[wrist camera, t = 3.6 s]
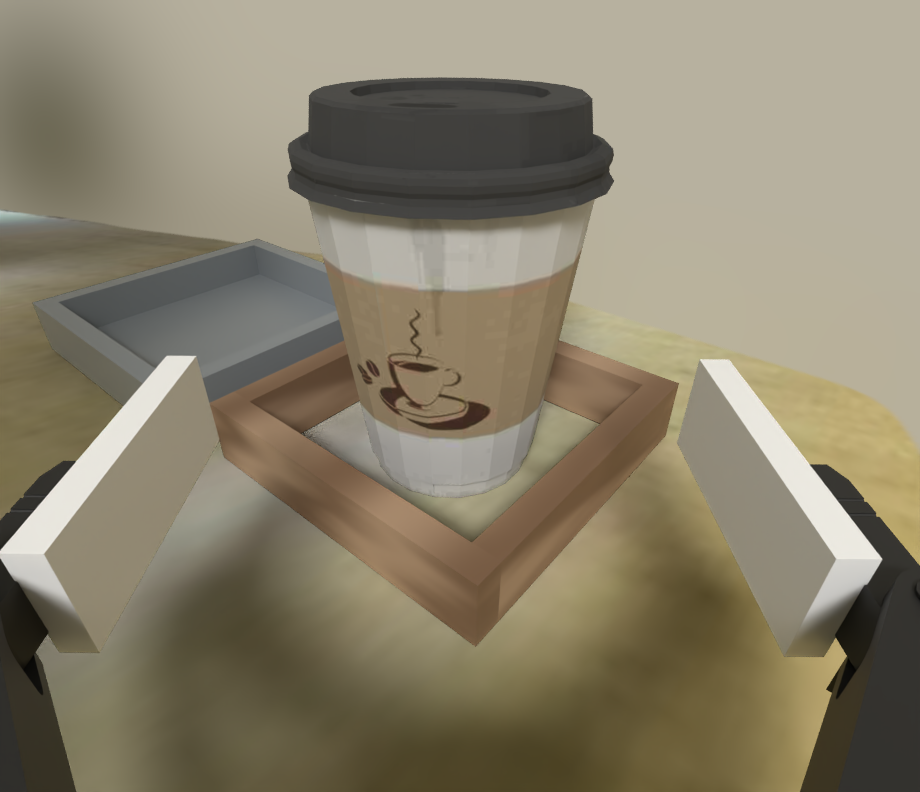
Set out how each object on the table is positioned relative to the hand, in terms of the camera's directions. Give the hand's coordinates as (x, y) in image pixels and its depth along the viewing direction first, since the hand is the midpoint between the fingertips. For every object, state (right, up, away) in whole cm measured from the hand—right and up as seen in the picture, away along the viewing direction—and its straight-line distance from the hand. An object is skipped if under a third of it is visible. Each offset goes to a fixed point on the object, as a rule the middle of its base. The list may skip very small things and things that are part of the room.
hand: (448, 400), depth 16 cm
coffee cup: (0, -2, +12) cm, 12 cm away
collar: (0, -2, +12) cm, 12 cm away
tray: (-14, +3, +20) cm, 25 cm away
